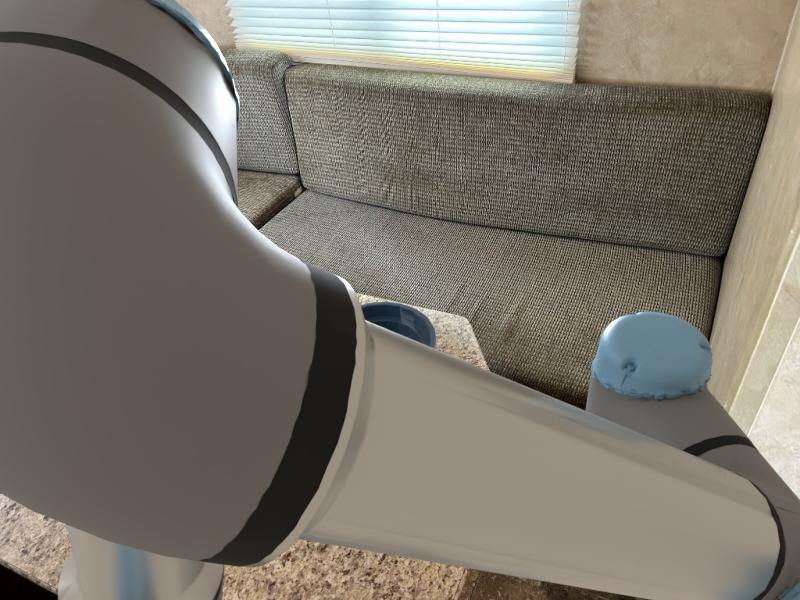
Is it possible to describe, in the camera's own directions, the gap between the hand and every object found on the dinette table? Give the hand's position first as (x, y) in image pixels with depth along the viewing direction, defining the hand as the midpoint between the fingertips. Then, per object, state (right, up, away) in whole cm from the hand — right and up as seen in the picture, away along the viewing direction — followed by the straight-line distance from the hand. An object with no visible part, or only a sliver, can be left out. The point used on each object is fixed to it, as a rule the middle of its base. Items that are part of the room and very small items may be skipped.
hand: (291, 372), depth 63 cm
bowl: (+8, -2, +32) cm, 33 cm away
